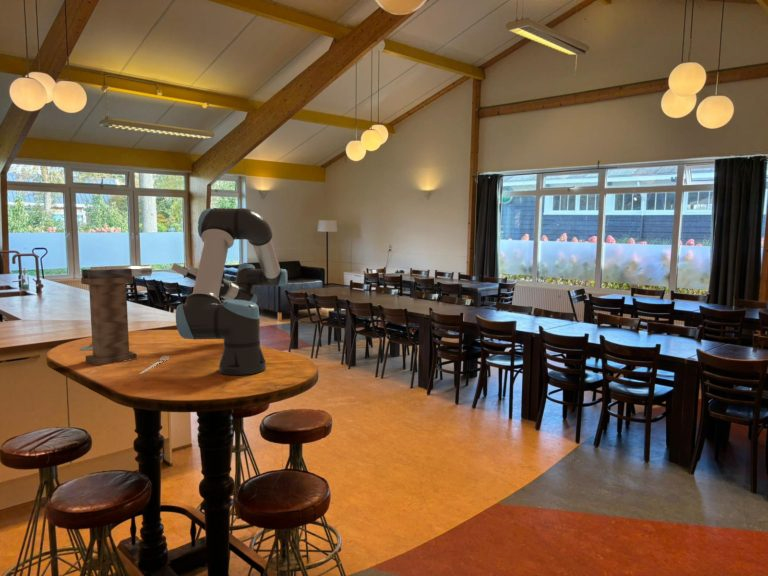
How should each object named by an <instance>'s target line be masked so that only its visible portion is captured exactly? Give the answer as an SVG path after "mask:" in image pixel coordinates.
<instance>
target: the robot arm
mask: <svg viewBox="0 0 768 576" xmlns="http://www.w3.org/2000/svg"><path fill="white" fill-rule="evenodd" d="M197 225H198V226H197V233H198V236H199V238H201V241H202V242H203V246H202V251H201V254H200V260H199V265H198V267H195V266H193V265H190V267H189V269H187V268H186V267H184V266H181V265H179V264H177V263H175V262H174V263H173V264H172V267H171V270H172V271H174V272H176V273H178V274H180V275H182V276H183V278H184V279H186V278H188V279H190V280H193V281H194V284H193V285H194V286H193V289H192V290H193V291H192V293H190V294H189V295H187V297H186V299H185V302H184V303H180V304H178V305H177V306H176V310H175V325H176V329H177V332H178V334H179V336H180V337H181V338H183V339H184V340H194V341H196V340H223V351H222V355H221V357H220V360H219V365H218V369H219V371H218V372H219V373H220V374H223V375H227V376H247V375H254V374H258V373H261V372H263V371H265V370H266V369H267V365H266V364H267V363H266V359H265V357H264V353H263V351H262V348H261V328H260V325H261V324H260V319H261V317H260V308H259V306H258V304H257V301H258V297H257V294H255V293H254V292H253V289H254V287H284V286H286V285H287V284H288V276H289V275H288V270H287V269H284V268H281V267H280V262H279V259H278V257H277V254H276V250H275V247H274V244H273V232H272V228H271V226H270V224H269V223H268V222H267V220H266V219H265V218H263V216H262V215H260V214H259V213H258V212H256V211H254V210H252V209H249V208H245V207H244V208H243V207H241V208H225V207H224V208H223V207H222V208H220V207H219V208H217V207H213V208H206V209H204V210H203V211H201V213H200V215H199V218H198V222H197ZM235 240H246V241H248V242H249V243H250V245H252V247H253V250H254V251H255V255H256V257H257V260H258V263H259V265H260V268H256V267H255V265H253V264H252V263H242V264H239V266H238V268H237V271H236V278H235V283H234V282H232V281H230V280H228V279H227V278H224V272H225V266H226V261H227V257H228V256H227V255H228V252H229V249H230V248H232V246H234V243H235ZM219 297H220V298H223V299H224V300H223V301H221V300H220V298H219Z"/></svg>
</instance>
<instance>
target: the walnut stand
mask: <svg viewBox="0 0 768 576" xmlns="http://www.w3.org/2000/svg"><path fill="white" fill-rule="evenodd" d="M80 280H81V281H80V283H81V284H82V285H87V286H88V290H89V305H90V306H89V307H90V327H91V343H92V348H93V350H92V354H89V355H87V354H86V355H85V362H86V363H89V364H91V365H93V366H94V367H96V366H102V365H110V364H115V363H114V362H116V363H120V362H119V361H123V362H125V361H124V360H129V359H135V358H137V359H138V356H137V355H138V354H137V352H136V353H135V352H133V351H130V341H129V339H130V338H129V322H128V321H129V319H128V317H129V316H128V300H127V299H128V298H127V284H133V283H134V276H132V269H109V270H90V268H89V269H87V268H86V269H81V278H80ZM135 360H136V359H135ZM129 361H130V360H129ZM109 363H110V364H109Z"/></svg>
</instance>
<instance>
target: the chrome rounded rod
mask: <svg viewBox="0 0 768 576" xmlns="http://www.w3.org/2000/svg"><path fill="white" fill-rule="evenodd" d="M89 269H90V270H109V269H132V277H143V276H144V277H147V276H151V275H152V273H153V268H152V266H151V265H150V264H141V265H140V264H138V265H136V264H134V265H133V264H132V265H112V266H111V265H109V266H91V267H90V268H89Z"/></svg>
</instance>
